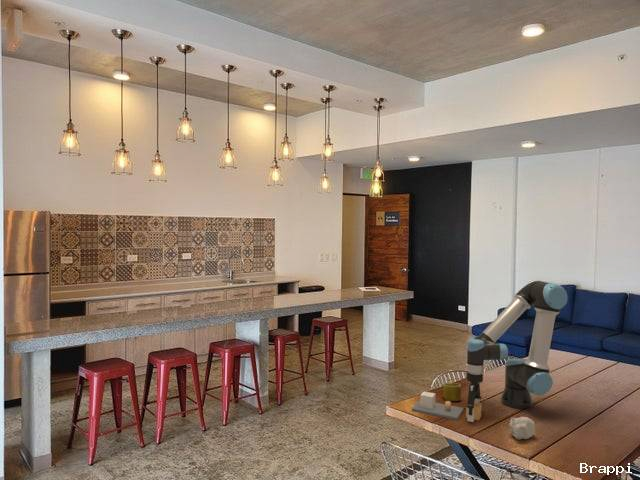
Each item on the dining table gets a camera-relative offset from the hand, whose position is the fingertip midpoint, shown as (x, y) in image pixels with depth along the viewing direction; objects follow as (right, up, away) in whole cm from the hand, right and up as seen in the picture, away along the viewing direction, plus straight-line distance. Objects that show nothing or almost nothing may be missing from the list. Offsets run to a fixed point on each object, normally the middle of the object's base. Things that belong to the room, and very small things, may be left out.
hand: (473, 416), depth 229 cm
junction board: (-15, 0, +7) cm, 17 cm away
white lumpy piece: (+14, -1, -20) cm, 25 cm away
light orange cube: (0, 0, 0) cm, 0 cm away
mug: (-4, 0, +25) cm, 25 cm away
